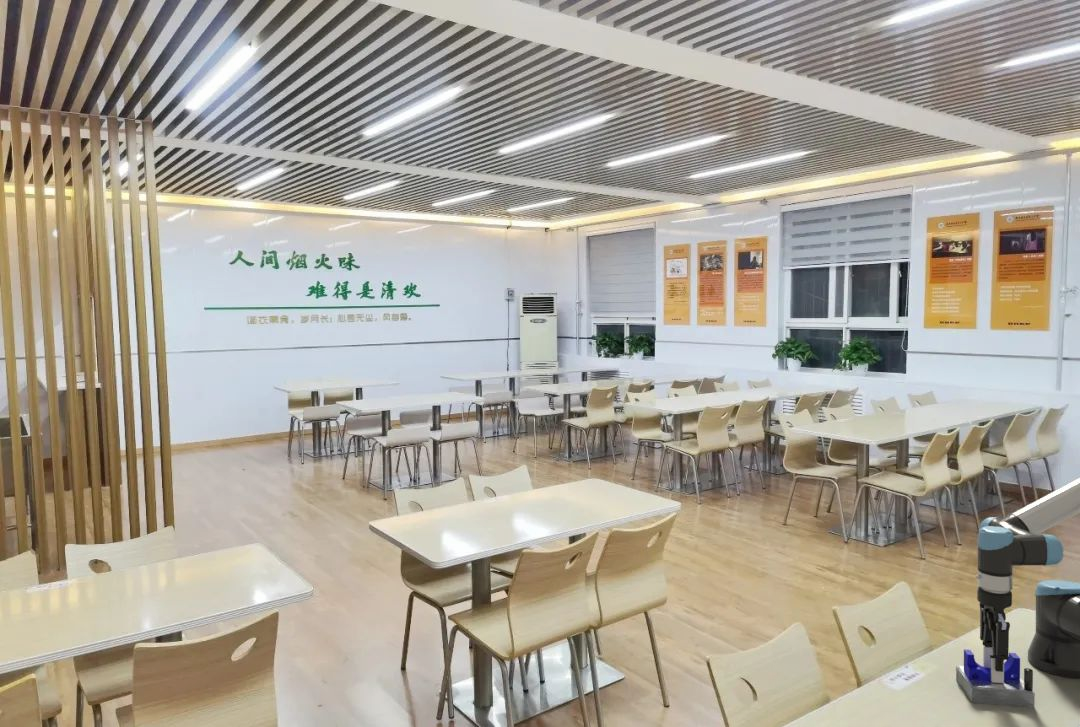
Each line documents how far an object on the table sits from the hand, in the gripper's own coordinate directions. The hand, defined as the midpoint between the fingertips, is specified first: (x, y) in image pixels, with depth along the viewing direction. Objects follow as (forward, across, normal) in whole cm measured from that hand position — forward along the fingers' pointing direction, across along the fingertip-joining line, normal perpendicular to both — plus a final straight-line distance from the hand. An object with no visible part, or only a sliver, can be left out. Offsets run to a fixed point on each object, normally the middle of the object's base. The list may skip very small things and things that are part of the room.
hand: (993, 676), depth 187 cm
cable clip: (+1, 0, 0) cm, 1 cm away
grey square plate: (+4, 0, 0) cm, 4 cm away
